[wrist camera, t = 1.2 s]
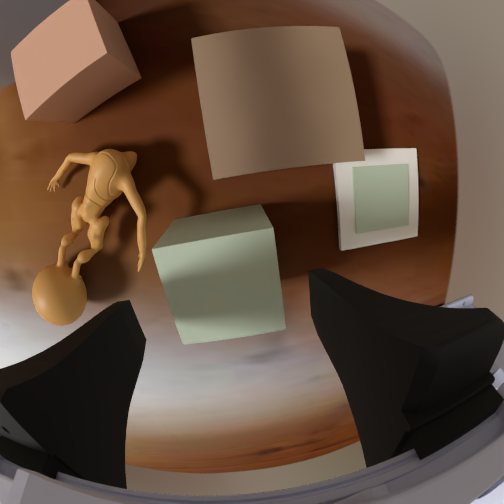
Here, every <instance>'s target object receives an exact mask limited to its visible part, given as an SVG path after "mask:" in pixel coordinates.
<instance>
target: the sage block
mask: <svg viewBox="0 0 504 504" xmlns="http://www.w3.org/2000/svg"><path fill="white" fill-rule="evenodd" d="M152 252H153V255H154V259H155V262H156V266H157V269H158V272H159V276H160V279H161V282H162V285H163V288H164V291H165V294H166V297H167V300H168V303H169V306H170V309H171V312H172V315H173V318H174V321H175V323H176V326H177V329H178V332H179V334H180V337H181V340H182V342H183V345H184V344H193V343H201V342H209V341H217V340H224V339H231V338H238V337H244V336H251V335H257V334H263V333H268V332H274V331H279V330H285V329H286V326H285V317H284V308H283V300H282V291H281V283H280V275H279V267H278V259H277V251H276V244H275V236H274V229H273V226H272V224H271V222H270V221H269V219H268V217H267V215H266V213H265V211H264V210H263V208H262V206H261V204H258V205H252V206H246V207H240V208H234V209H228V210H223V211H217V212H212V213H206V214H201V215H196V216H191V217H185V218H180V219H175V220H174V221H173V222H172V223H171V225H170V226H169V227H168V229H167V230H166V231H165V232H164V234H163V235H162V236H161V238H160V239H159V240H158V242H157V243H156V244H155V246H154V247H153V248H152Z"/></svg>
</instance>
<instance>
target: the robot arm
mask: <svg viewBox="0 0 504 504" xmlns="http://www.w3.org/2000/svg"><path fill="white" fill-rule="evenodd" d="M308 273H309V288H310V305H311V316H312V319H313V322H314V325H315V328H316V331H317V334H318V336H319V338H320V340H321V342H322V344H323V346H324V348H325V350H326V352H327V354H328V356H329V358H330V360H331V362H332V364H333V366H334V367H335V369H336V371H337V373H338V375H339V378H340V380H341V382H342V384H343V387H344V390H345V393H346V396H347V399H348V402H349V405H350V408H351V411H352V414H353V417H354V420H355V424H356V427H357V431H358V434H359V438H360V442H361V445H362V449H363V453H364V458H365V462H366V467H367V468H365V469H363V470H359V471H357V472H353V473H351V474H347V475H344V476H340V477H337V478H333V479H330V480H326V481H322V482H318V483H313V484H309V485H304V486H300V487H294V488H288V489H283V490H277V491H269V492H262V493H252V494H241V495H221V496H188V495H170V494H159V493H149V492H142V491H134V490H128V489H127V486H126V474H125V440H126V427H127V419H128V412H129V407H130V402H131V399H132V395H133V392H134V388H135V385H136V382H137V378H138V375H139V372H140V368H141V365H142V362H143V357H144V351H145V344H146V338H145V336H144V334H143V331H142V329H141V327H140V324H139V322H138V320H137V317H136V315H135V312H134V310H133V307H132V305H131V302H130V300H127V301H119V302H116V303H114V304H112V305H110V306H109V307H107V308H106V309H104V310H103V311H101V312H100V313H99V314H97V315H96V316H95V317H93V318H92V319H91V320H89V321H88V322H87V323H85V324H84V325H83V326H81V327H80V328H78V329H77V330H76V331H74V332H73V333H71V334H70V335H69V336H67V337H66V338H64V339H63V340H61V341H60V342H58V343H56V344H55V345H53V346H51V347H50V348H48V349H46V350H44V351H43V352H41V353H39V354H37V355H34V356H32V357H30V358H28V359H26V360H24V361H22V362H19V363H17V364H14V365H11V366H8V367H5V368H2V369H0V504H504V322H503V321H502V320H501V319H500V318H498V317H497V316H496V315H495V314H494V313H493V312H491V311H490V310H489V309H488V308H476V307H475V306H473V305H472V304H473V300H474V297H473V296H472V295H471V294H470V295H467V296H465V297H463V298H460V299H458V300H455V301H453V302H450V303H448V304H445V305H442V306H440V307H437V306H430V305H424V304H419V303H413V302H409V301H405V300H401V299H398V298H394V297H391V296H387V295H384V294H382V293H379V292H376V291H374V290H371V289H369V288H366V287H364V286H362V285H359V284H357V283H355V282H353V281H351V280H348V279H346V278H344V277H342V276H340V275H338V274H336V273H334V272H332V271H330V270H327V269H325V268H321V269H316V270H311V271H308Z"/></svg>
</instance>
